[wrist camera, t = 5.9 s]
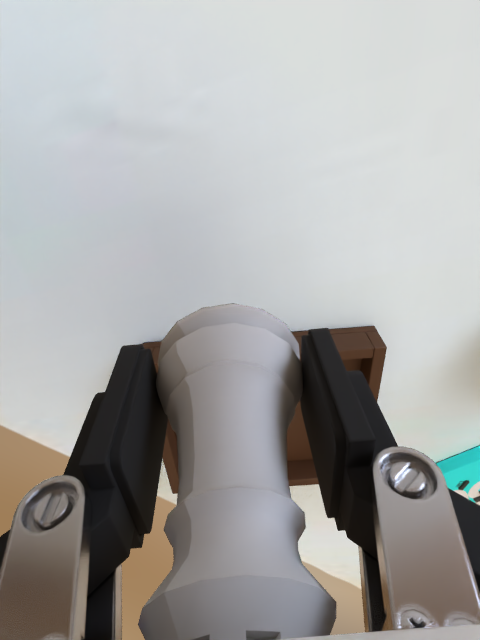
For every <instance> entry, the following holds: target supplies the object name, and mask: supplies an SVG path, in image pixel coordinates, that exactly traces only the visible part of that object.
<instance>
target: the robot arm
mask: <svg viewBox="0 0 480 640" xmlns="http://www.w3.org/2000/svg"><path fill="white" fill-rule="evenodd" d="M301 363H302V372H303V392H302V396H301V398H300V405H301V412H302V416H303V420H304V424H305V428H306V433H307V437H308V441H309V445H310V449H311V453H312V457H313V462H314V466H315V470H316V474H317V478H318V482H319V486H320V490H321V495H322V499H323V503H324V507H325V511H326V515H327V517H328V518H335V521H336V525H337V529H338V531H341V530H345V531H346V534H347V538H349V539H350V540H352V541H353V542H354V543H356V544H357V545H358V549H359V561H360V574H361V586H362V599H363V611H364V623H365V633H353V634H341V635H327V636H314V637H302V638H290V639H278V640H480V505H478V504H476V503H474V502H473V501H471V500H469V499H467V498H465V497H464V496H462V495H460V494H458V493H456V492H455V491H453V490H451V489H449V488H448V487H447V484H446V481H445V478H444V476H443V474H442V472H441V469H440V468H439V467H438V466H437V465H436V463H435V462H434V461H433V460H432V459H430V458H429V457H428V456H426V455H425V454H423V453H421V452H419V451H417V450H415V449H412V448H407V447H398V445H397V443H396V441H395V439H394V437H393V435H392V433H391V431H390V429H389V426H388V424H387V422H386V420H385V418H384V416H383V414H382V412H381V410H380V408H379V406H378V404H377V402H376V399H375V397H374V395H373V393H372V391H371V389H370V387H369V385H368V383H367V381H366V379H365V377H364V375H363V373H362V372H361V371H360V370H354V371H346V368H345V366H344V364H343V361H342V359H341V357H340V354H339V352H338V350H337V347H336V345H335V343H334V340H333V338H332V336H331V333H330V331H329V329H328V328H322V329H311V330H308V335H302V337H301ZM156 379H157V372H156V368H155V364H154V360H153V357H152V353H151V350H150V349H144V346H143V345H142V344H140V345H128V346H122V348H121V350H120V353H119V355H118V358H117V361H116V364H115V366H114V369H113V372H112V375H111V377H110V380H109V383H108V386H107V388H106V391H105V392H102V393H97V394H96V395H95V397H94V399H93V401H92V403H91V406H90V408H89V411H88V414H87V416H86V419H85V421H84V424H83V426H82V429H81V431H80V434H79V436H78V439H77V441H76V444H75V447H74V449H73V452H72V454H71V457H70V459H69V462H68V464H67V467H66V469H65V472H64V474H63V475H62V476H55V477H52V478H50V479H47V480H44V481H43V482H41V483H40V484H38V485H36V486H35V487H34V488H33V489H31V490H30V491H29V492H28V493H27V494H26V495H25V496H24V498H23V499H22V500H21V502H20V503H19V505H18V507H17V509H16V511H15V514H14V517H13V521H12V525H11V529H10V530H9V531H8V532H6V533H5V534H3V535H2V536H1V537H0V640H122V565H121V563H122V562H124V561H125V560H126V559H127V558H128V557H129V554H130V549H131V548H141V547H142V544H143V538H144V534H148V533H150V532H151V529H152V523H153V516H154V510H155V502H156V496H157V490H158V483H159V477H160V470H161V463H162V457H163V450H164V443H165V437H166V430H167V423H168V416H167V415H166V414H165V412H164V410H163V407H162V404H161V401H160V399H159V396H158V393H157V388H156Z"/></svg>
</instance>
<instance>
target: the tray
mask: <svg viewBox="0 0 480 640" xmlns="http://www.w3.org/2000/svg"><path fill="white" fill-rule="evenodd" d="M329 331H330V333H331V336H332V338H333V340H334V343H335V345H336V347H337V350H338V352H339V354H340V357H341V359H342V361H343V364H344V366H345V368H346V371H354V370H360V371H361V372H362V373H363V375H364V377H365V379H366V381H367V383H368V385H369V387H370V389H371V391H372V393H373V395H374V397H375V399H376V402H377V399H378V394H379V388H380V383H381V377H382V371H383V366H384V360H385V354H386V349H387V347H386V345H385V344H384V342H383V340H382V339H381V337H380V335H379V334H378V332H377V330H376V328H375V326H368V327H354V328H341V329H329ZM291 333H292V334H293V336H294V337H295V339H296V340H297V342H298V344H299V354H300V361H301V337H302V335H308V331H300V332H291ZM143 346H144V349H150V350H151V353H152V357H153V360H154V364H155V368H156V372H157V373H158V368H159V367H158V364H157V363H158V358H159V352H160V346H161V342H149V343H143ZM163 461H164V465H165V468H166V472H167V475H168V479H169V482H170V486H171V489H172V493H173V494H175V493H178V488H179V472H178V451H177V435H176V433H175V432H174V431H173V430H172V427H171V425H170V422H169V419H168V423H167V430H166V437H165V443H164V450H163ZM287 468H288V482H289V486H297V485H312V484H319V482H318V478H317V474H316V470H315V466H314V462H313V457H312V453H311V449H310V445H309V441H308V437H307V433H306V428H305V424H304V420H303V416H302V412H301V405H300V400H299V402H298V404H297V406H296V409H295V415H294V417H293V419H292V421H291V423H290V425H289V427H288V431H287Z"/></svg>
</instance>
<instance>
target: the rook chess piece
mask: <svg viewBox="0 0 480 640" xmlns="http://www.w3.org/2000/svg"><path fill="white" fill-rule="evenodd" d="M157 364H158V367H159V368H158V373H157V379H156V388H157V393H158V396H159V399H160V401H161V404H162V407H163V410H164V412H165V414H166V415H167V416H168V419H169V422H170V425H171V427H172V430H173V431H174V432H175V433H176V435H177V451H178V472H179V488H178V498H177V506H176V507H175V508H174V509H173V510H172V511H171V512H170V513H169V514H168V516H167V520H166V524H165V527H164V532H165V533H166V536H167V538H168V540H169V542H170V544H171V545H172V547H173V554H174V562H173V567H172V570H171V571H170V573H169V574H168V575H167V577H166V578H165V579H164V580H163V582H162V583H161V584H160V586H159V587H158V588H157V590H156V591H155V592H154V594H153V595H152V596H151V598H150V599H149V600H148V602H147V603H146V604H145V605H144V607H143V608H142V612H141V615H140V619H139V623H138V625H139V628H140V630H141V632H142V634H143V636H144V638H145V640H278V639H290V638H302V637H314V636H327V635H330V633H331V630H332V627H333V625H334V622H335V619H336V601H335V600H334V599H333V598H332V597H331V596H330V595H329V594H328V592H327V591H326V590H325V589H324V588H323V587H322V586H321V584H320V583H319V582H318V581H317V580H316V579H315V578H314V577H313V575H312V574H311V573H310V572H309V571H308V570H307V569H306V568H305V566H303V564H302V562H301V558H300V555H299V552H298V540H299V538H300V537H301V535H302V533H303V531H304V530H305V528H306V526H305V514H304V512H303V511H302V510H301V508H300V507H299V506H298V505H297V504H296V503H295V502H294V501H293V500H292V499H291V493H290V488H289V482H288V468H287V431H288V427H289V425H290V423H291V421H292V419H293V417H294V415H295V409H296V406H297V404H298V402H299V400H300V398H301V396H302V392H303V372H302V363H301V361H300V354H299V344H298V342H297V340H296V339H295V337H294V336H293V334H292V333H291V331H290V329H289V328H288V326H287V325H286V324H285V323H284V322H282V321H281V320H279V319H277V318H276V317H274V316H273V315H271V314H270V313H268V312H266V311H265V310H263V309H259V308H254V307H249V306H244V305H239V304H234V303H232V304H225V305H218V306H211V307H205V308H201V309H199V310H197V311H196V312H194V313H192V314H190V315H188V316H186V317H185V318H183V319H181V320H179V321H177V322H176V324H175V325H174V326H173V327H172V329H171V330H170V331H169V333H168V334H167V335H166V336H165V338H164V339H163V340H162V342H161V346H160V352H159V358H158V363H157Z"/></svg>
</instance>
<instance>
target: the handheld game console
mask: <svg viewBox="0 0 480 640" xmlns="http://www.w3.org/2000/svg"><path fill="white" fill-rule="evenodd" d="M436 465H437V466H438V467H439V468H440V469H441V472H442V474H443V476H444V478H445V481H446V484H447V487H448V488H449V489H451V490H453V491H455V492H456V493H458V494H460V495H462V496H464V497H465V498H467V499H469V500H471V501H473V502H474V503H476V504H478V505H480V446H478V447H475V448H473V449H470V450H468V451H465V452H463V453H461V454H458V455H456V456H453V457H451V458H448V459H446V460H443V461H441V462H438V463H436Z"/></svg>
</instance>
